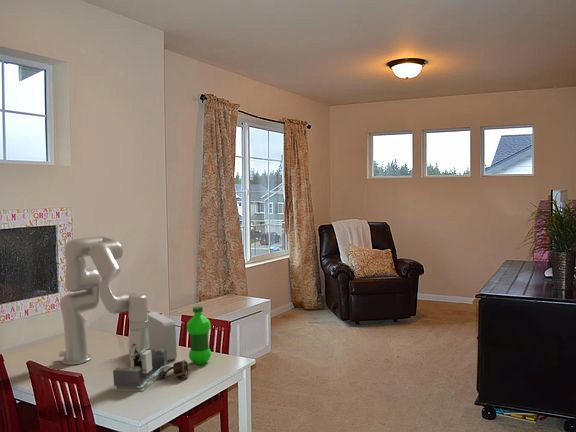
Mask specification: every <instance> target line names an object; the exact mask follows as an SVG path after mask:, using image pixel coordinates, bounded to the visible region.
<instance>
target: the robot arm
mask: <svg viewBox="0 0 576 432" xmlns="http://www.w3.org/2000/svg"><path fill="white" fill-rule="evenodd" d="M123 254H124V249H123V246H122V245H121V243H120V242H119V241H118V240H115V239H112V238H109V237H106V236H101V235H99V236H98V235H97V236H89V237H81V238H74V239H71V240H68V241H67V243H66V244H65V246H64V256H65V263H66V264H65V277H64V278H65V279H64V285H65V289H66V291H68V292H71V293H68V294H65V295H64V296H63V297H61V299H60V302H59V307H60V310H61V313H62V319H63V330H64V331H63V332H64V345H65V350H63V351H61V350H60V351H59V354H58V357H63V359H62V363H63V364H64V365H69V366H71V365H72V366H73V365H81V364H85V363H88V362H89V361H91V360H92V358H93V357H92V355H91V354H89V351H88V350H89V349H88V334H87V322H86V319H85V318H84V317H83V315H82V313H84V312H88V311H92V310H95V309H96V308H97V307H99V304H100V299H101V302H102V304H103V306H104V308H105V310H107V312H108V313H110V314H112V315H116V314H121V313H123V312H128V320H129V322H128V323H129V337H128V353H129V355H130V354H131V357H132V359H133V361H134V366H139V367H140V369H142V361H141V353H143V352H144V351H145V350H149V346H150V340H149V331H148V328H149V326H148V313H149V312H148V311H149V310H148V298H147V296H146V294H143V293H142V294H139V293H137V292H135V291H128V292H127V291H126V292H124V293H119V294H113V292H112V290H111V286H110V284H111V282H112V281H114V280H115V279H116V278H117V277H119V276H120V274H121V273H122V272H121V271H122V269H121V268H120V266H119V263H118V261H117V260H119V259H121V258H122V256H124V255H123ZM85 257H90V259H91V260H92V262H93V264H94V266H95V268H94V267H93V268H91V267H90V268H87V261H86V258H85ZM136 352H138V353H136ZM136 355H138V357H137V356H136Z"/></svg>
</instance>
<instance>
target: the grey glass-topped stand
mask: <svg viewBox="0 0 576 432" xmlns="http://www.w3.org/2000/svg"><path fill="white" fill-rule="evenodd" d="M151 356H152V370H150V371H149V372H148V373H143V369H140V367H139V366H133V367H132V368H131V367H129V368H128V367H126V368H125V367H117V368H115V369H113V371H112V374H113V386H112V387H111V388H109V389H110V390H109V391H114V392H115V391H119V392H120V391H121V392H144V391H146V390H147V389H148V388H149V387H150V386H152V385H153V384H154V383H155V382H157V381H158V379H160V378H159V373H160V372H161V371H163V370H164V371H165V372H166V371H167V370H168V369H169V368H171V367H172V365H168V361H167V350H164V348H158V349H156V350H151Z"/></svg>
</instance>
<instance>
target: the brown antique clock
mask: <svg viewBox="0 0 576 432" xmlns="http://www.w3.org/2000/svg"><path fill="white" fill-rule="evenodd" d="M171 370H173V374H172V375H167V374H168V373H169V372H170V371H171ZM190 372H191V369H190V368H189V363H188V361H187V360H185V359H183V360H180V361H177V362H175V363H173V366H171V368H169V369H168V370H167V371H166V372H165V371H164V370H163V371H161V372H160V373H159V378H158V379H160V380H164V378H166V379H173V378H177V379H181V378H184V377H185V379H186V380H188V379H189V375H190Z"/></svg>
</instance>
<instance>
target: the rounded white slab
mask: <svg viewBox="0 0 576 432" xmlns="http://www.w3.org/2000/svg"><path fill="white" fill-rule="evenodd" d="M148 326H149V328H148V331H149V340H150V346H149V350H156V349H158V348H164V350H167V362H169V361H173V360H176V359H177V357H178V353H177V335H176V334H177V333H176V324H175V322H174V320H173V319H171V318H168V317H167V316H165V315H164V314H161V313H159V312H158V311H150V312H148ZM168 360H169V361H168Z"/></svg>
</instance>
